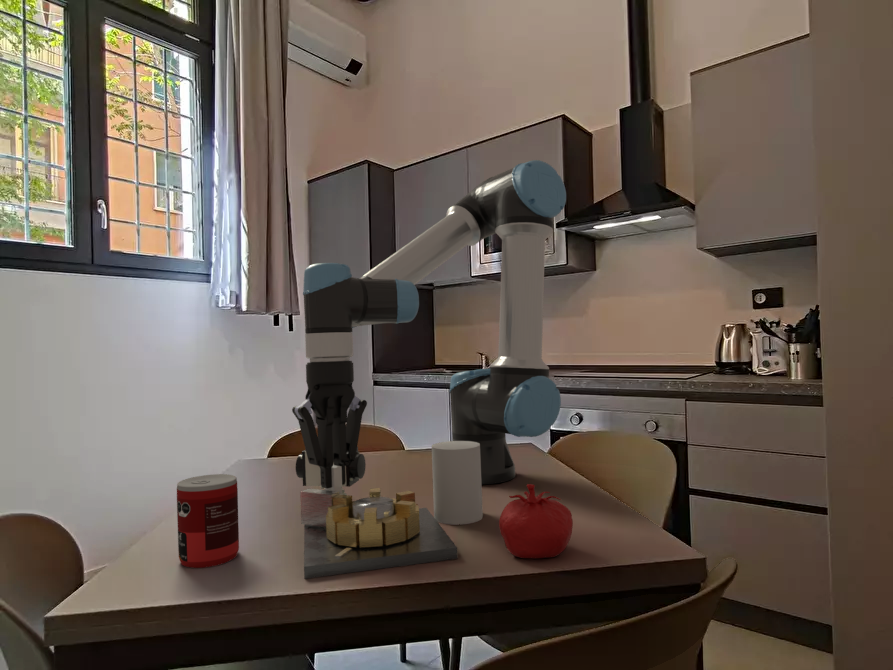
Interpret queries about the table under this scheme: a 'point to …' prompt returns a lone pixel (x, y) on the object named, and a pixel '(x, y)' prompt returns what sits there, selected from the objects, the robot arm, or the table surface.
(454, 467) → the white cylinder
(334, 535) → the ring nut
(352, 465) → the pneumatic valve
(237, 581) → the table surface
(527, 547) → the red tomato
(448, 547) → the base plate
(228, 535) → the canned food
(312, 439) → the robot arm
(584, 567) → the table surface
